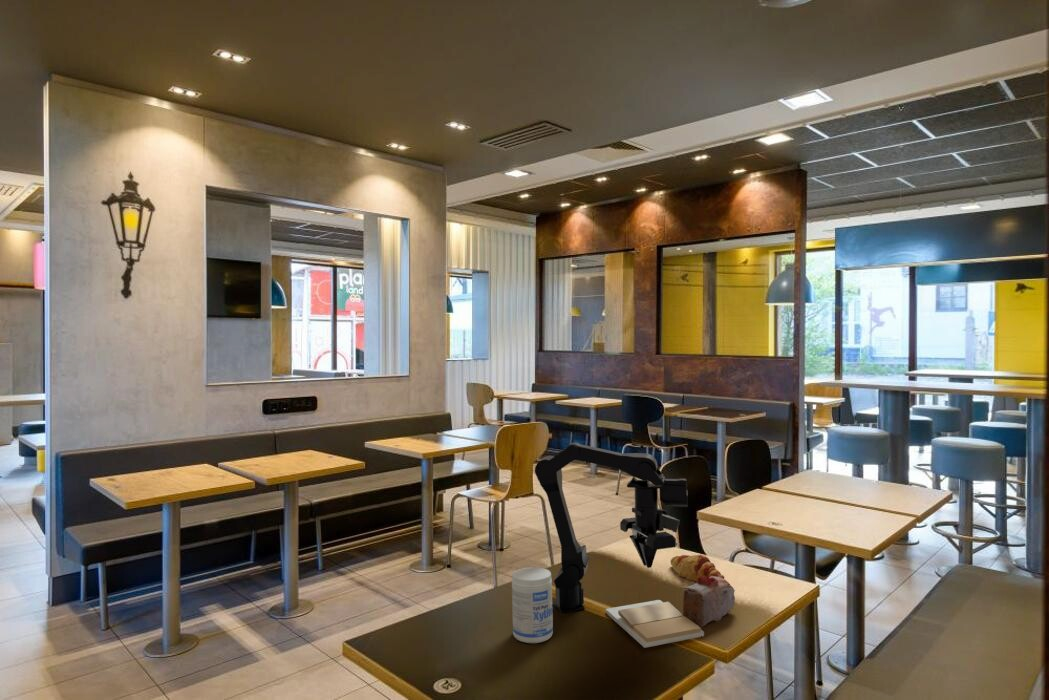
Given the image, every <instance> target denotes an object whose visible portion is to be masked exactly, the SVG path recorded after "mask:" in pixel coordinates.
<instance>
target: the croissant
mask: <svg viewBox="0 0 1049 700" xmlns="http://www.w3.org/2000/svg"><path fill="white" fill-rule="evenodd" d="M670 565H671V567H672V569H673V570H674V571H675V573H676V574H677V575H678V576H679V577H681V578H684V579H686V580H688V581H692V582H696V583H698V580H697V578H699V577H700V576H702V577H703V576H706V577H708V576H709V577H710V576H716V577H721V578H723V579H725V575H723V574H722V572H720V571H719V570H718V569H717V568H716V565H715V563H713V562H711V560H710V559H709V557H708V556H706V555H703V554H692V555H690V554H682V555H676V556H674V557H673V556H672V558H671V559H670Z"/></svg>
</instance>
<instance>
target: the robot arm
mask: <svg viewBox="0 0 1049 700" xmlns="http://www.w3.org/2000/svg"><path fill="white" fill-rule="evenodd" d="M575 460H576V461H580V462H586V463H589V464H594V465H598V466H603V467H607V468H612V469H616V470H619V471H622V472H624V473H626V474H627V475H629V476H632V478H631V479H630V480H629V481H628V482H627V483H626V487H627V488H629V489H630V488H633V489H634V506H633V507H631V512H632V513H633V514H634V517H629V518H627V517H626V518H623V519H622V520H621V521H620V522H619V527H620V528H619V530H621V531H622V532H624V533H627V532H628V530H631V535H629V539H631V542H632V543H633V546H634V547H635V549H636V551H637V553H638V556H639V557H640V560H641V562H642V564H643V566H646V568H647V569H651V568H652V566H653V563H654V560H655V556H656V553H657V552H658V550H663V549H671V548H676V547H677V539H676V536H674V535H673V534H671V533H669V532H668V531H664V530H665V529H666V530H669V531H672V533H677V532H678V528H679V526H680V522H681V521H680V519H677V518H676V517H673V516H671V515H668V512H667V510H665V509H662V508H659V504H658V503H659V499H660V502H662V504H664V506H665V507H681V508H682V507H683V508H684V507H685V508H687V507H688V505H689V504H688V503H689V502H688V499H689V498H688V494H689V493H688V489H687V486H688V484H687V478H666V476H665V475H664V473H662V471H661V470H660V469H659V468H658V461H657V460H656V458H655V457H654V455H652V454H650V453H641V452H633V453H632V452H630V453H624V452H623V453H622V452H618V451H613V450H608V449H605V448H604V449H603V448H599V447H594V446H591V445H585V444H582V443H579V442H577V441H575V442H572V443H570V444H569V445H568V446H566V447H565V448H563V449H562V450H560V451H559V452H557V453H556V454H555V455H546V456H544V457H542V459H541V460H539V461H538V462H537V464H536V465H535V467H534V473H535V476H536V479H537V480H538V483H539V485H540V487H541V488H542V489H543V491H544V492H545V493H546V496H547V499H548V503H549V506H550V507H549V508H550V511H551V516H552V518H553V521H554V522H553V523H554V525H555V529H556V532H557V537H558V540H559V543H560V548H561V549H560V550H561V551H560V552H561V554H560V555H561V556H560V559H561V560H560V562H561V563H560V564H561V568H560V570H559V571H558V573H557V574H556V576H555V578H554V580H553V582H554V584H555V585H554V586H555V587H554V588H555V601H552V605H554V606H555V607H556V608H557V609H558V611H559V612H561V613H569V612H574V611H580V610H585V609H586V607H585V605H584V603H585V601H584V600H585V596H584V595H585V594H584V587H582V586H583V585H582V582H581V581H582V579H583V578H584V576H585V573H586V572H587V569H588V566H589V563H590V562H589V561H590V559H591V558H590V556H589V555H588V553H587V546H586V544H583V545H580V543H579V541H578V540H577V537H576V533H575V529H574V526H573V522H572V520H571V516H570V512H569V507H568V504H567V501H566V498H565V493H564V490H563V470H562V469H563V468H565V467H566V466H567V465H569V464H570V463H573V461H575ZM658 490H659V491H658ZM658 493H659V494H658ZM658 495H659V496H660V497H658Z"/></svg>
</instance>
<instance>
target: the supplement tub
mask: <svg viewBox="0 0 1049 700" xmlns="http://www.w3.org/2000/svg"><path fill="white" fill-rule="evenodd" d="M511 576H512V577H511V598H512V600H511V601H512V603H511V605H512V607H511V608H512V609H511V610H512V633H513V637H514V638H515V639H516V640H517V641H519V642H522V643H525V644H538V643H543V642H545V641H548V640H549V639H550V638H551V637H552V636H553V633H554V625H553V624H554V621H553V620H554V617H553V615H554V613H553V581H552V580H553V579H552V573H551V571H550V570H549V569H546V568H543V567H536V566H531V567H530V566H529V567H522V568H519V569H516V570H514V571H513V572H512V574H511Z"/></svg>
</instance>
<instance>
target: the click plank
mask: <svg viewBox="0 0 1049 700" xmlns="http://www.w3.org/2000/svg"><path fill="white" fill-rule="evenodd" d="M662 602H663V603H657V604H652V605H646V606H640V607H634V608H628V609H623V610H618V614H619V615H620V617H621V618H622V619H623V620H624V621H625V622H626V623H627V624H628V625H629V626H630V628H631V629H633V626H634V625H639V624H645V623H650V622H656V621H661V620H667V619H672V618H677V617H683V616H684V615H683V614H682V613H681V612H680V611H679V609H677V608H676V607H675V606H674V605H673V604H672V603H671V602H670V601H662Z"/></svg>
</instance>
